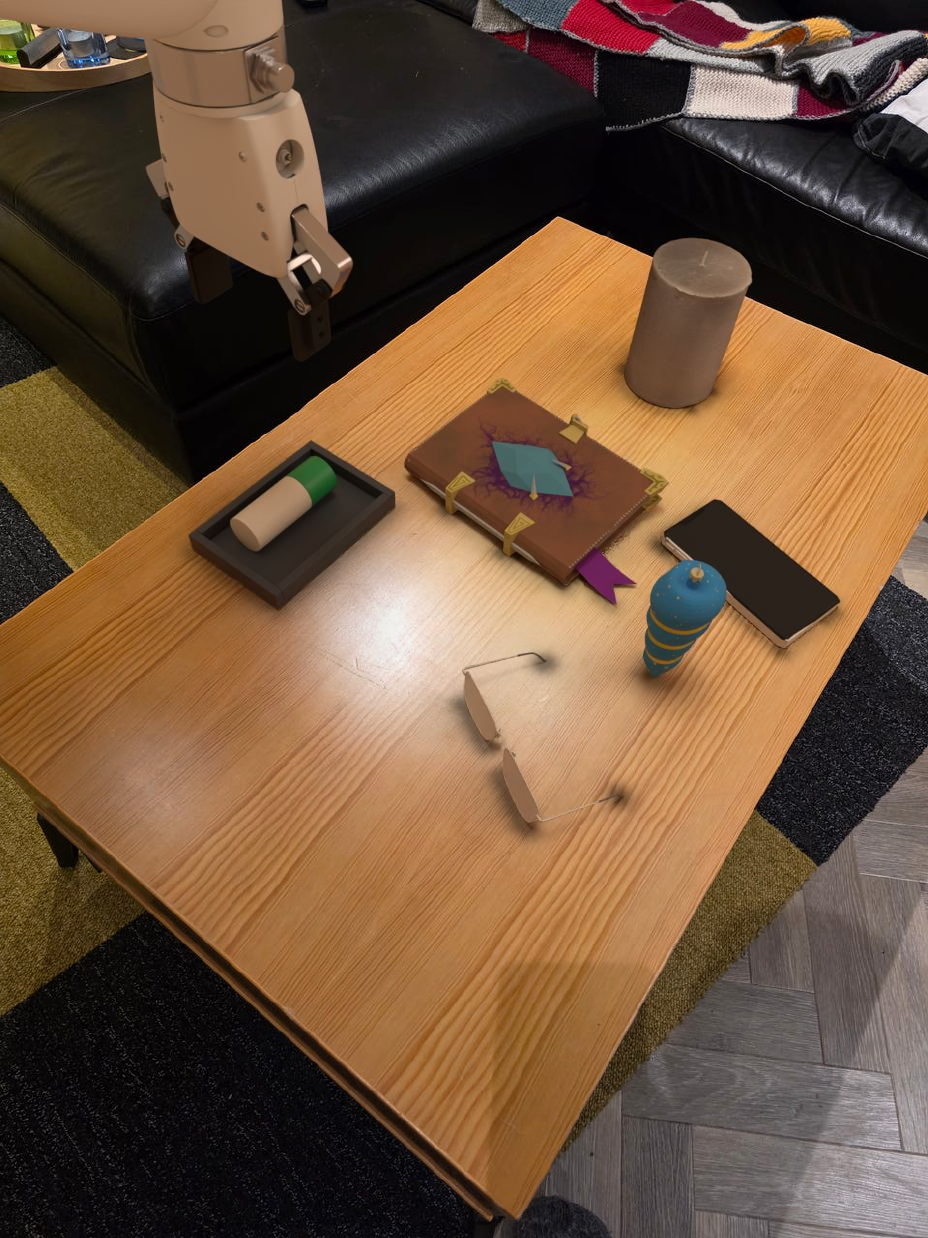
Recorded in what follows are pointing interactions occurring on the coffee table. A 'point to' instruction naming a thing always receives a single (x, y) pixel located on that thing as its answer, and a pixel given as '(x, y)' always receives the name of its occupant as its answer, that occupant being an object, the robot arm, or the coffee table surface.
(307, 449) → the tray
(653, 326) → the pillar candle
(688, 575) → the ornament
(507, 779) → the eyeglasses
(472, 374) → the coffee table surface
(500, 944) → the coffee table surface
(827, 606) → the smartphone
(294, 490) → the marker
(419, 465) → the book
